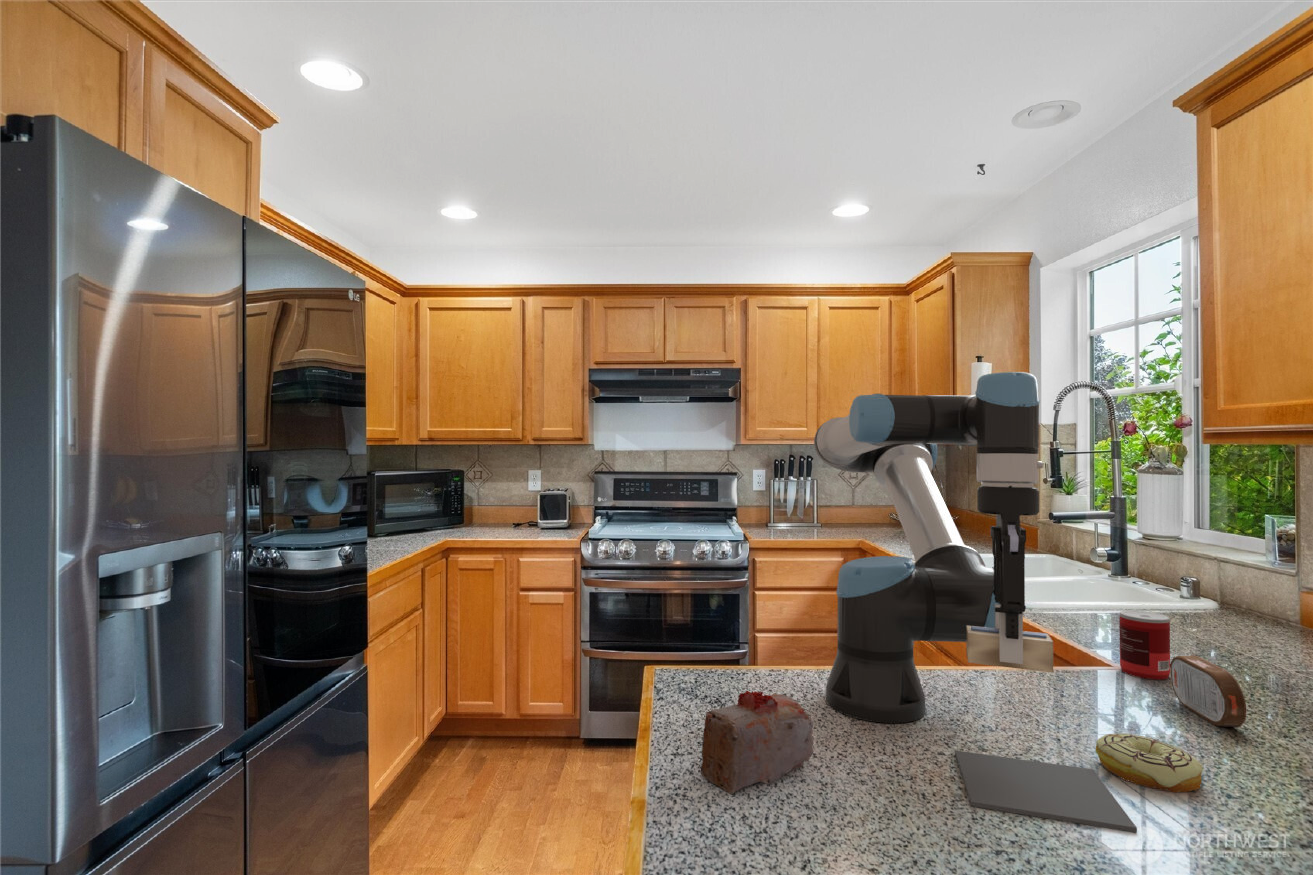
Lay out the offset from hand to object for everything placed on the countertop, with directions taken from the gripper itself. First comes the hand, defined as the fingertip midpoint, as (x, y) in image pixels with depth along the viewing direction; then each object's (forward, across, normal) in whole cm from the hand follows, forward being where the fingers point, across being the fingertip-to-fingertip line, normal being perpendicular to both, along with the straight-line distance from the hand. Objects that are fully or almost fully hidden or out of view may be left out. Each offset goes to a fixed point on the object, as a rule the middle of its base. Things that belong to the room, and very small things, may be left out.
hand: (1008, 656), depth 89 cm
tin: (+13, +28, -30) cm, 43 cm away
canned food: (+13, +49, -28) cm, 58 cm away
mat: (+13, -10, -2) cm, 16 cm away
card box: (+1, 0, 0) cm, 1 cm away
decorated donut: (+13, 0, -16) cm, 20 cm away
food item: (+13, -20, +30) cm, 38 cm away
